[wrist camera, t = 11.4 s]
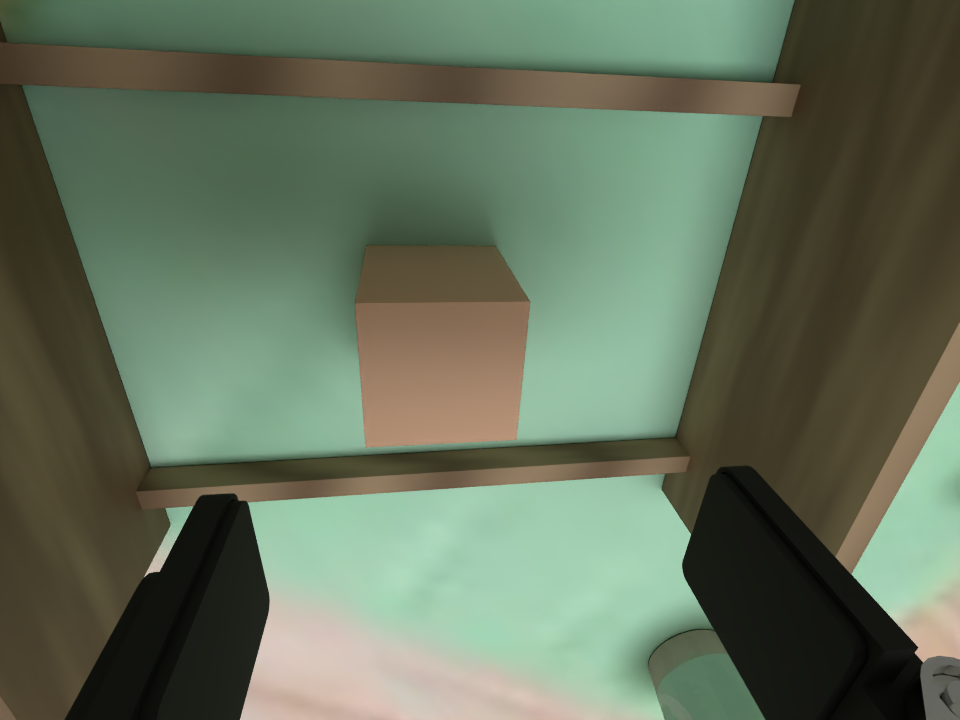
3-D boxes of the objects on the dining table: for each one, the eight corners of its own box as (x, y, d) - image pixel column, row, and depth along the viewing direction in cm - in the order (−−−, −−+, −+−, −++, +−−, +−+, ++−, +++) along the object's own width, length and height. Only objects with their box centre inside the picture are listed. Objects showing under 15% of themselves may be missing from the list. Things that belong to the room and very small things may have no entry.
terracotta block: (373, 360, 22) (365, 447, 16) (366, 244, 19) (354, 303, 14) (488, 357, 22) (516, 439, 17) (495, 245, 20) (529, 301, 15)
